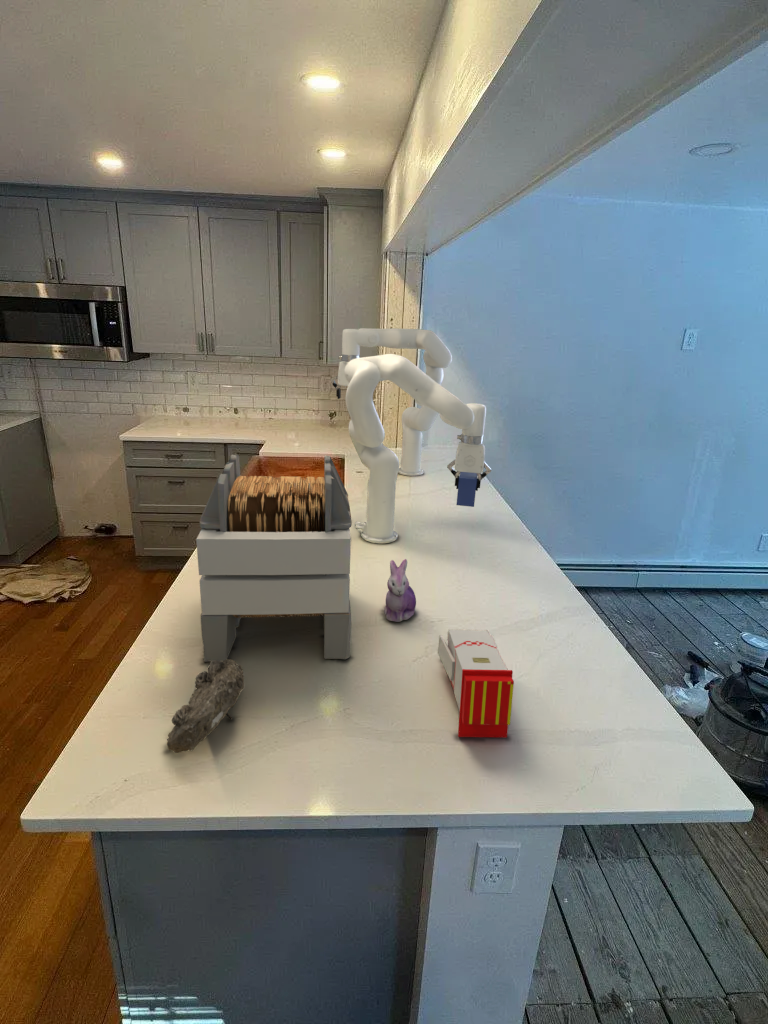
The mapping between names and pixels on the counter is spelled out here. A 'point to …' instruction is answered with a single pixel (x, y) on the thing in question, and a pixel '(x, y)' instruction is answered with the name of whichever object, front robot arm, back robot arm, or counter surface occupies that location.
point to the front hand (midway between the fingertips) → (467, 488)
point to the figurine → (399, 594)
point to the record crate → (275, 555)
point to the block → (466, 489)
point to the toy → (478, 682)
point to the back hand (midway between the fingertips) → (349, 399)
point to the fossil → (206, 705)
